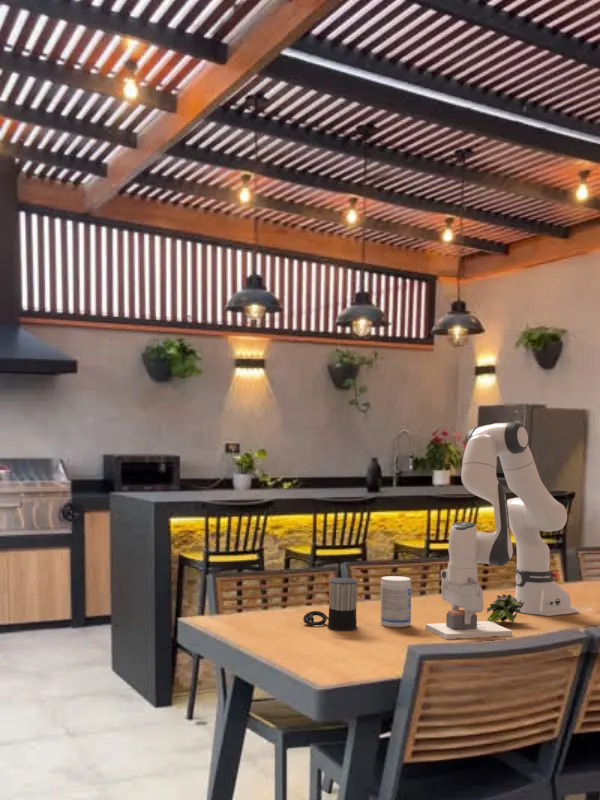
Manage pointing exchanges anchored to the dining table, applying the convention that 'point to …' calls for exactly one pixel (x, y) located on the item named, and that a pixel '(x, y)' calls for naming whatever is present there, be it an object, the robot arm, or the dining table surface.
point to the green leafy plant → (504, 608)
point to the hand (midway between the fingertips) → (461, 621)
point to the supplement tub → (395, 601)
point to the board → (469, 630)
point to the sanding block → (460, 620)
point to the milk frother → (339, 605)
